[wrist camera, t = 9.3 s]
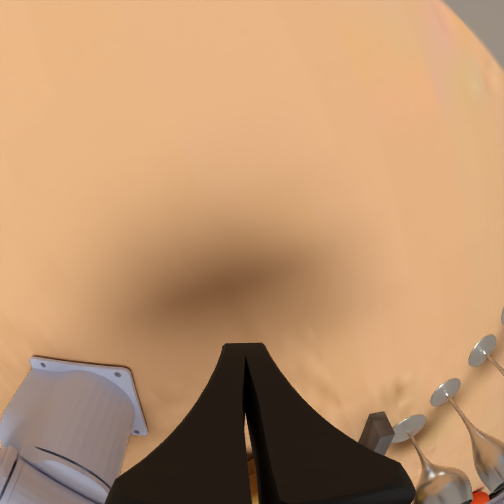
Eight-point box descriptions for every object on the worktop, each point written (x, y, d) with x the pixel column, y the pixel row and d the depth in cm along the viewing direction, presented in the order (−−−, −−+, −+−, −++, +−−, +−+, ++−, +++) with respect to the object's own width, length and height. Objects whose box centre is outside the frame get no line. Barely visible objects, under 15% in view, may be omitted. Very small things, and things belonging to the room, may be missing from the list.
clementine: (490, 480, 42) (502, 499, 35) (476, 494, 44) (486, 513, 38) (467, 492, 41) (479, 513, 35) (454, 506, 44) (463, 526, 37)
